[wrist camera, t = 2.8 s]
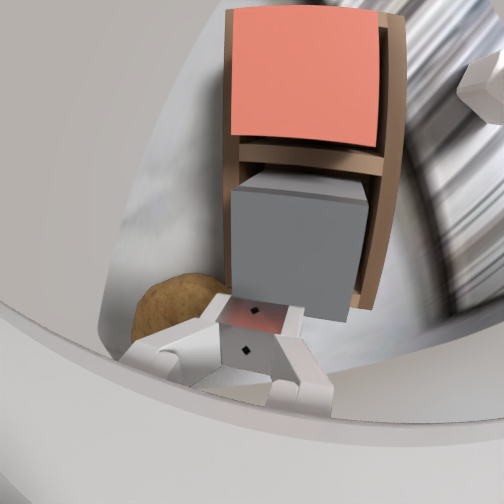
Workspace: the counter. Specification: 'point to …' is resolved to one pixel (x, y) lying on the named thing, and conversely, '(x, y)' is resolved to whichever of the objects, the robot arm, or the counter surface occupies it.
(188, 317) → the potato
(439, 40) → the counter surface
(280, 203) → the grey cube
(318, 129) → the red and grey cube
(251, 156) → the wooden divided tray
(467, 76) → the pepper shaker
